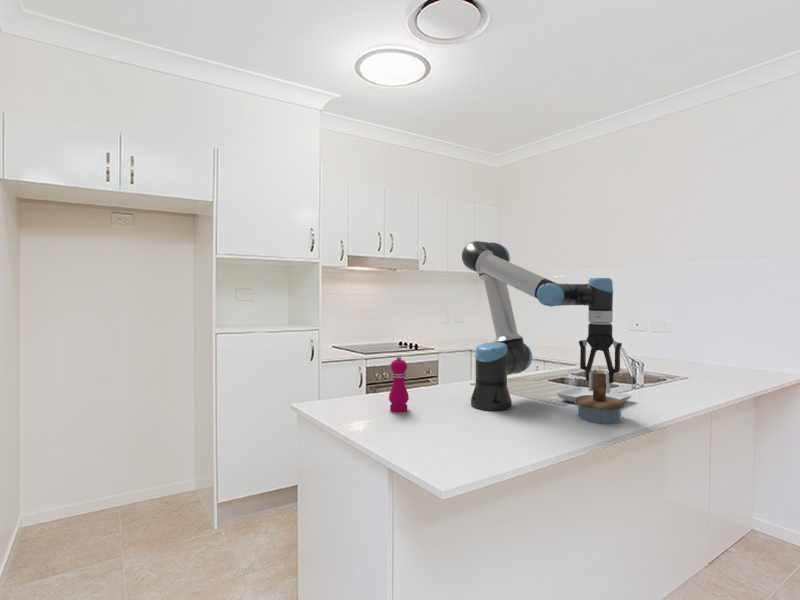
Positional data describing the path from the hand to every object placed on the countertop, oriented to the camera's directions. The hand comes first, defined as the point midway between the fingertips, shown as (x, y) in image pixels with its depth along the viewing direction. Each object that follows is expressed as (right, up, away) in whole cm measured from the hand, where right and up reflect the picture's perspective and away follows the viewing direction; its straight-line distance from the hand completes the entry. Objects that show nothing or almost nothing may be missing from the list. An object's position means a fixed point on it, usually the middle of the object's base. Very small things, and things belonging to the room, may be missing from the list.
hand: (599, 391), depth 155 cm
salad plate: (+8, -9, +24) cm, 27 cm away
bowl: (0, -9, 0) cm, 9 cm away
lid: (0, -4, 0) cm, 4 cm away
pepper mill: (-68, -9, +11) cm, 70 cm away
